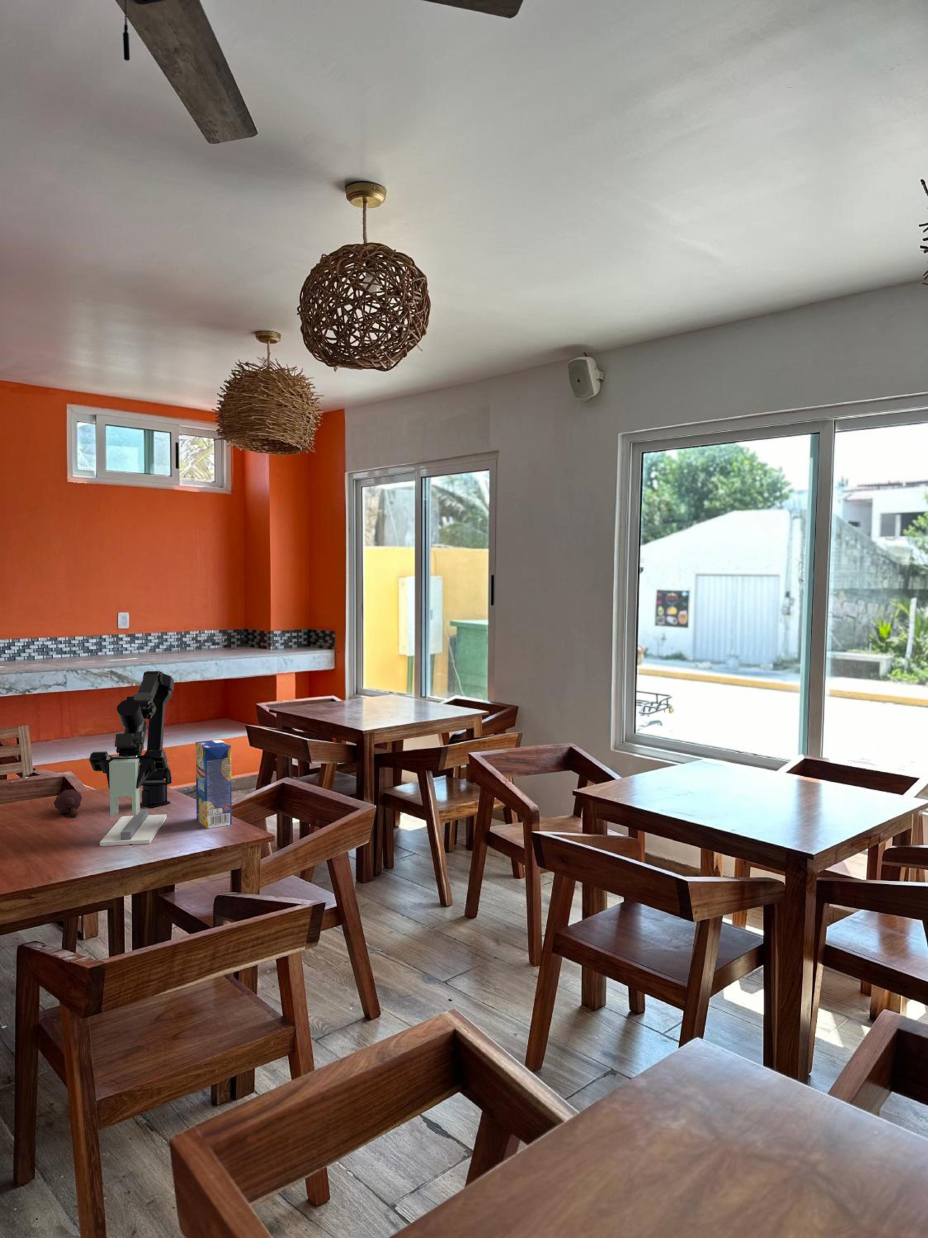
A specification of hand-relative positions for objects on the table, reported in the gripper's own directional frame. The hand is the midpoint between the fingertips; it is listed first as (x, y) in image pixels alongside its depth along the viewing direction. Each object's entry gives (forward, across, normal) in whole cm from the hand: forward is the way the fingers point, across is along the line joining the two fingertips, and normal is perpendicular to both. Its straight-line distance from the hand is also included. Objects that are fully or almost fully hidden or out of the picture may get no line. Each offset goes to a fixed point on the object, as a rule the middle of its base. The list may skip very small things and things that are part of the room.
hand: (123, 788), depth 213 cm
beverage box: (0, +20, +19) cm, 28 cm away
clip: (+4, 0, +6) cm, 7 cm away
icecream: (-11, -23, +31) cm, 40 cm away
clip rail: (+4, +1, +15) cm, 15 cm away
